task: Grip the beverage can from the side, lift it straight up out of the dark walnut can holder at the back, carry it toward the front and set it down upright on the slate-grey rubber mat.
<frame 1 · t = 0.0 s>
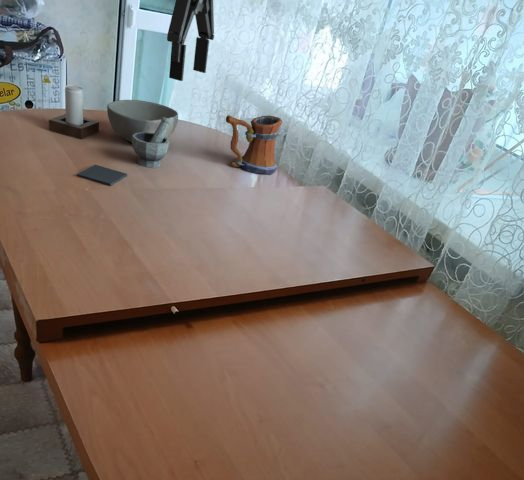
hand: (188, 75, 116), 28 cm above the table, tool pointing down, fingers open, 13 cm apart
mortar and pestle: (151, 163, 151), on the table
bowl: (141, 142, 164), on the table
mat: (102, 176, 137), on the table
can holder: (74, 131, 160), on the table
beverage can: (74, 131, 160), resting in can holder
mug: (247, 168, 163), on the table
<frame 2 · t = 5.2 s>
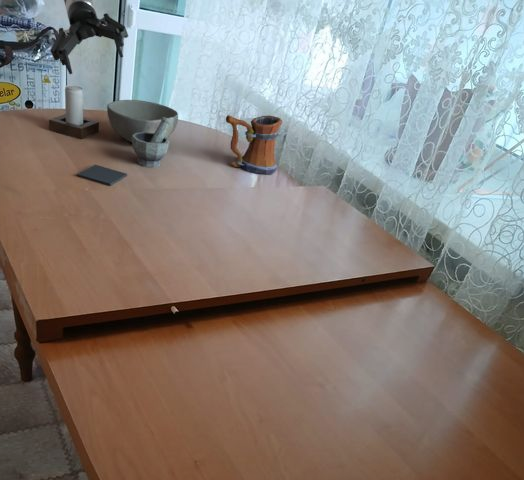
hand: (94, 60, 138), 22 cm above the table, tool tilted 70°, fingers open, 13 cm apart
nothing on the table moved.
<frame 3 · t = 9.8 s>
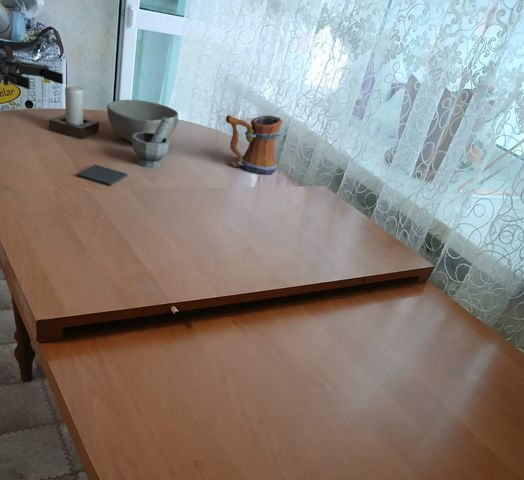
hand: (46, 81, 156), 11 cm above the table, tool horizontal, fingers open, 13 cm apart
nothing on the table moved.
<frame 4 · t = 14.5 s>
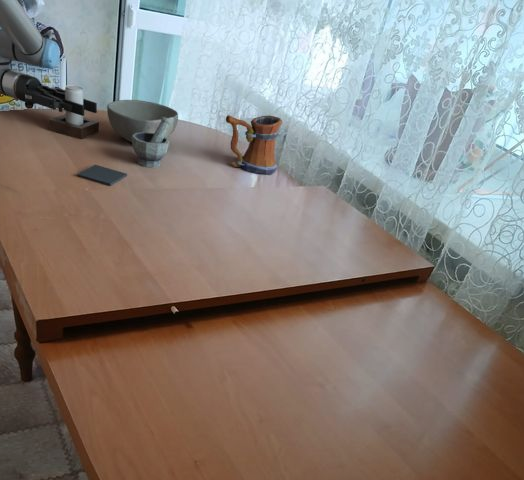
hand: (89, 109, 155), 7 cm above the table, tool horizontal, fingers closed on beverage can, 5 cm apart
beverage can: (74, 131, 160), resting in can holder, touching gripper
everything else where it was.
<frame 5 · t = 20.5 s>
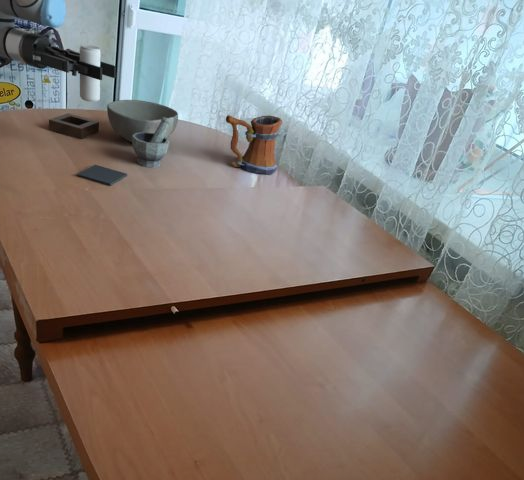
hand: (108, 73, 133), 22 cm above the table, tool horizontal, fingers closed on beverage can, 5 cm apart
beverage can: (89, 100, 138), point 14 cm above the table, touching gripper
everything else where it was.
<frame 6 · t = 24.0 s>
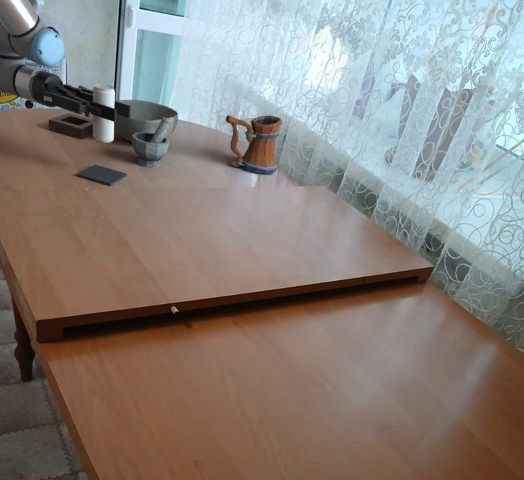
hand: (122, 113, 126), 16 cm above the table, tool horizontal, fingers closed on beverage can, 5 cm apart
beverage can: (103, 140, 132), point 9 cm above the table, touching gripper
everything else where it was.
when the fingers open (8 cm above the table, at t = 26.5 s): beverage can stays where it is, resting on mat.
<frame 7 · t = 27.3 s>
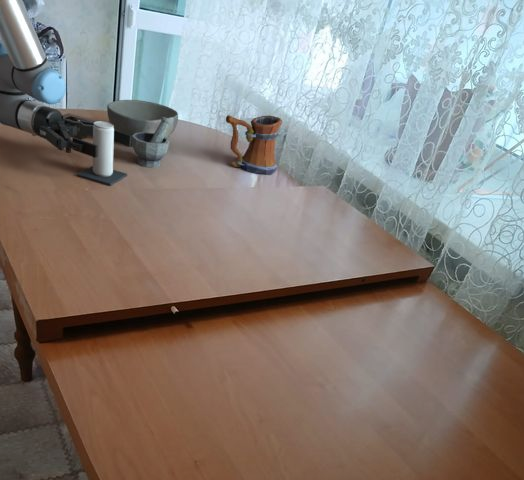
hand: (114, 146, 131), 8 cm above the table, tool horizontal, fingers open, 13 cm apart
beverage can: (102, 174, 137), resting on mat
everything else where it was.
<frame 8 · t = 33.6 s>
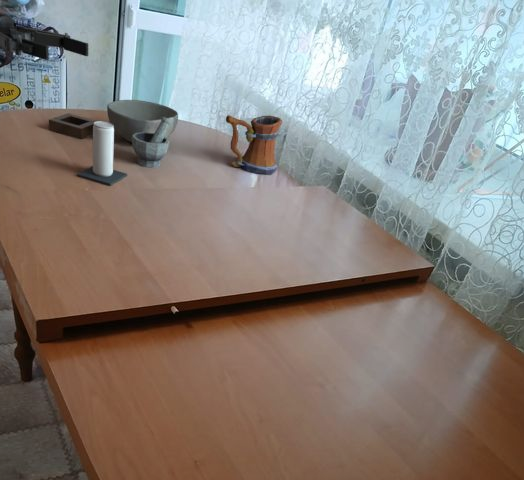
hand: (68, 51, 124), 26 cm above the table, tool horizontal, fingers open, 13 cm apart
nothing on the table moved.
at the end: beverage can 0.0 cm off-centre on the mat, point 0.4 cm above the mat's base; beverage can tilted 0°; the gripper is holding nothing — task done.
